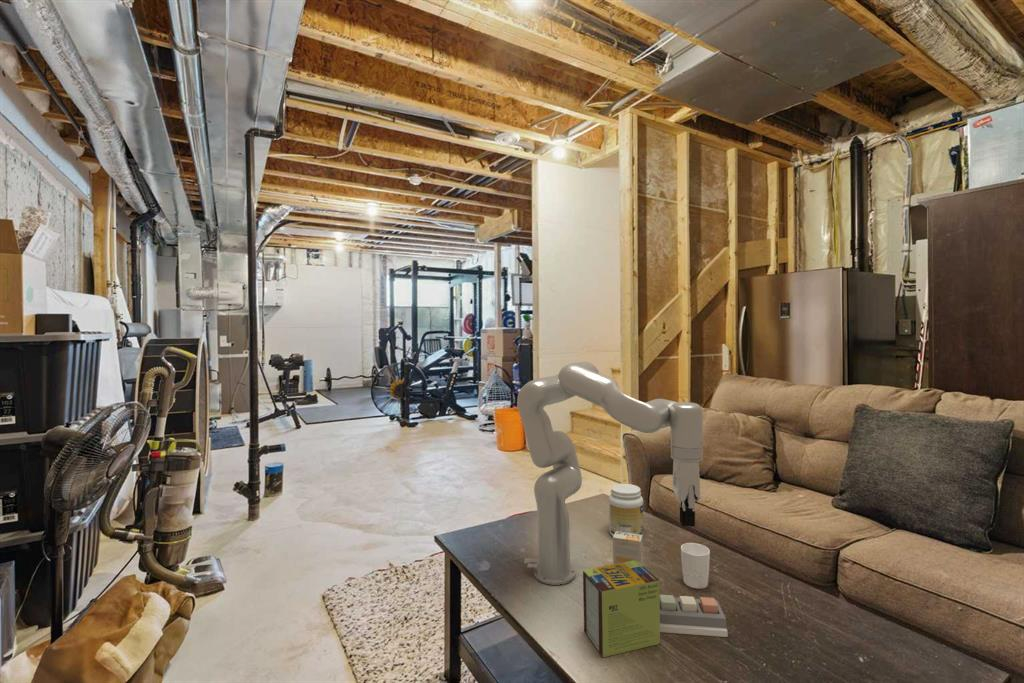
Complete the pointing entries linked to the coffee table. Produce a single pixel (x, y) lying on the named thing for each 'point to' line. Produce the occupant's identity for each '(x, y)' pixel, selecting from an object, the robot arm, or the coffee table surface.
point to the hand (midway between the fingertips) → (687, 524)
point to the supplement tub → (626, 509)
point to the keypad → (693, 621)
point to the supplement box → (627, 547)
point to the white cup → (695, 565)
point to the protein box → (621, 607)
